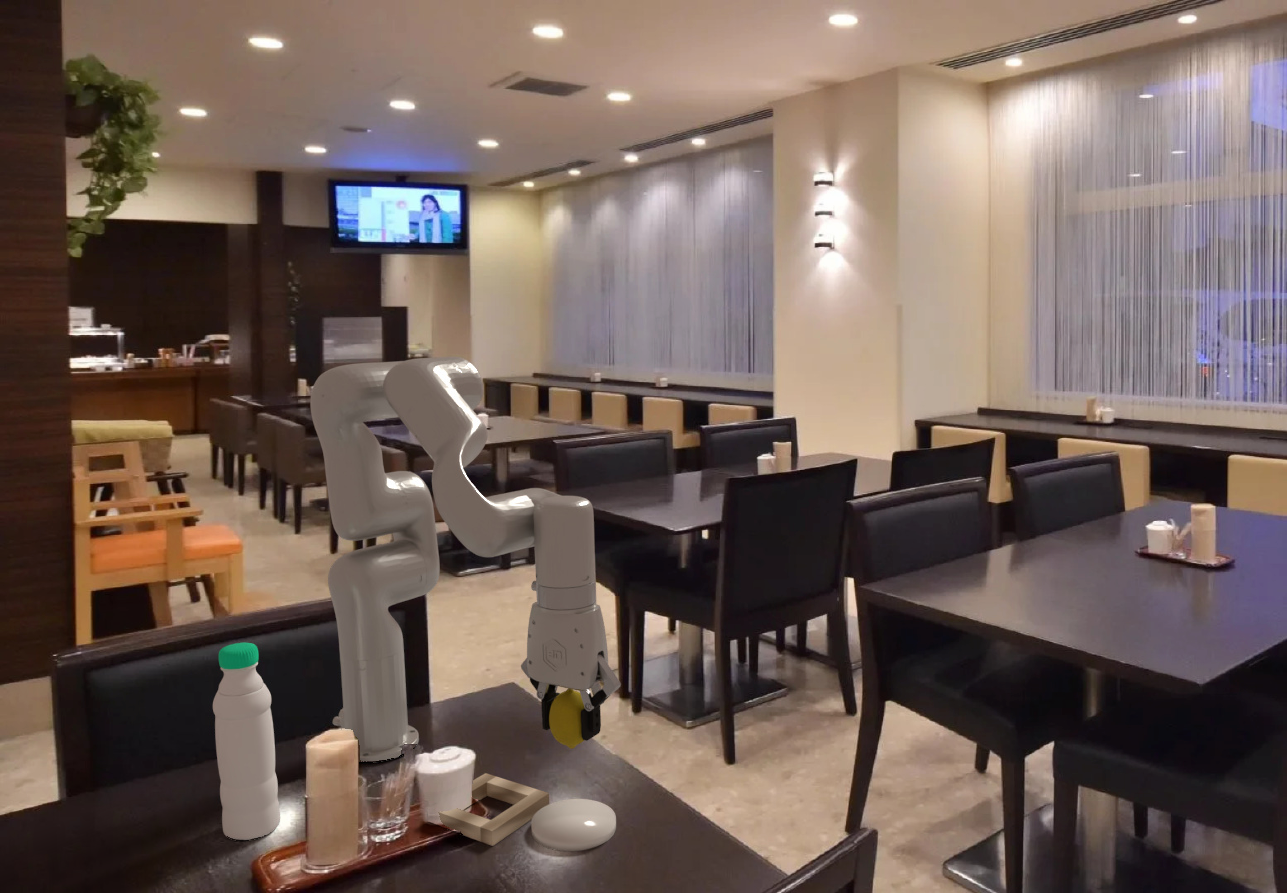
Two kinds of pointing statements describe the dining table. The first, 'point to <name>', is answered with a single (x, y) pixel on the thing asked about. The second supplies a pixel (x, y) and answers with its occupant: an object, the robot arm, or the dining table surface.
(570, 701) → the lemon
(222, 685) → the water bottle
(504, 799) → the frame
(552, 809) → the saucer
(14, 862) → the dining table surface
